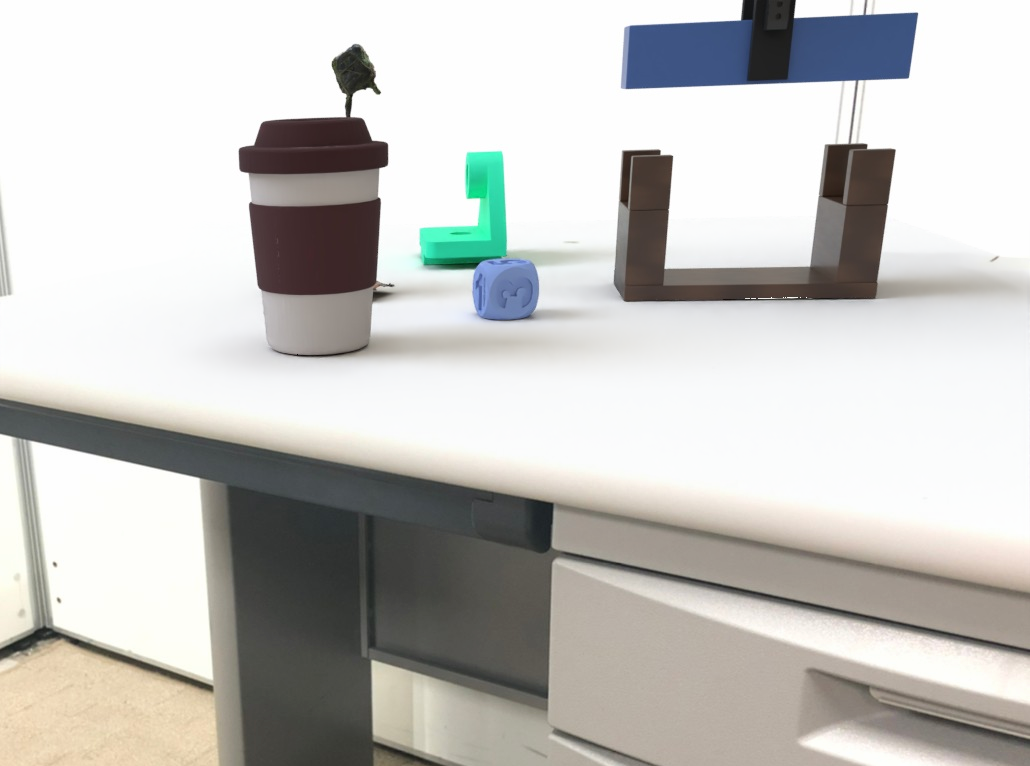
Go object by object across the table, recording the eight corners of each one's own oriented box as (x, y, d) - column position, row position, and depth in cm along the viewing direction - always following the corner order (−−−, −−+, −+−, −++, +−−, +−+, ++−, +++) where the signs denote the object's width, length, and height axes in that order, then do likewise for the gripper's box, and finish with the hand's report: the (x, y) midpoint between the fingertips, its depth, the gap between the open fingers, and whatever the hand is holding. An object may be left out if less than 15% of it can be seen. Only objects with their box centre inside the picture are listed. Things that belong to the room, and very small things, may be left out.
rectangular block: (893, 78, 90) (902, 14, 88) (909, 78, 87) (918, 12, 85) (620, 88, 93) (624, 27, 91) (625, 89, 90) (629, 25, 88)
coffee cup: (255, 333, 89) (244, 119, 83) (388, 330, 88) (387, 114, 83) (241, 363, 80) (229, 124, 74) (390, 359, 79) (389, 118, 73)
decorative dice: (471, 312, 93) (472, 260, 92) (520, 308, 94) (522, 257, 93) (487, 321, 90) (488, 267, 88) (538, 317, 90) (540, 264, 89)
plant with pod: (302, 284, 110) (294, 48, 102) (408, 292, 103) (407, 41, 96) (247, 298, 104) (234, 48, 96) (355, 307, 97) (350, 41, 90)
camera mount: (418, 253, 126) (419, 150, 122) (491, 250, 125) (494, 147, 122) (426, 270, 115) (426, 157, 111) (506, 267, 114) (509, 154, 110)
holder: (844, 280, 101) (863, 142, 97) (875, 298, 93) (897, 149, 89) (613, 283, 104) (621, 150, 100) (623, 301, 96) (633, 156, 92)
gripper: (717, -255, 89) (690, 81, 98) (766, -323, 74) (729, 82, 83) (823, -264, 88) (786, 77, 97) (895, -335, 73) (844, 78, 81)
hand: (760, 79), depth 90 cm, fingers closed on rectangular block, 4 cm apart
